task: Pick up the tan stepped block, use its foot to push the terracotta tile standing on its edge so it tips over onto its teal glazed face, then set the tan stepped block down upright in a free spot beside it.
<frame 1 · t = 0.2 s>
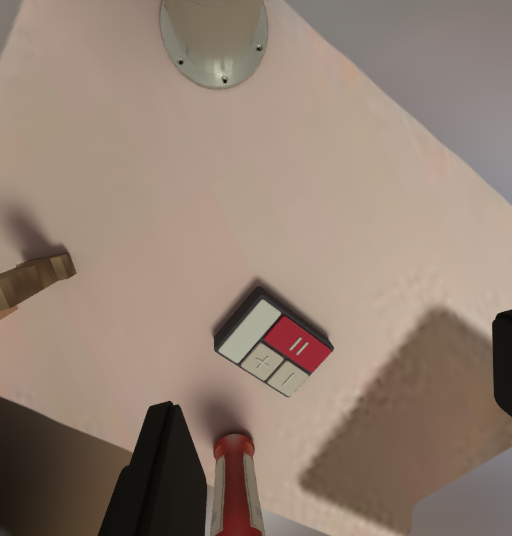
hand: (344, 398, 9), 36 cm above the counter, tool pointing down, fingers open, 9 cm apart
liquor: (233, 443, 54), on the counter
calculator: (272, 337, 50), on the counter
tan stepped block: (52, 267, 43), on the counter
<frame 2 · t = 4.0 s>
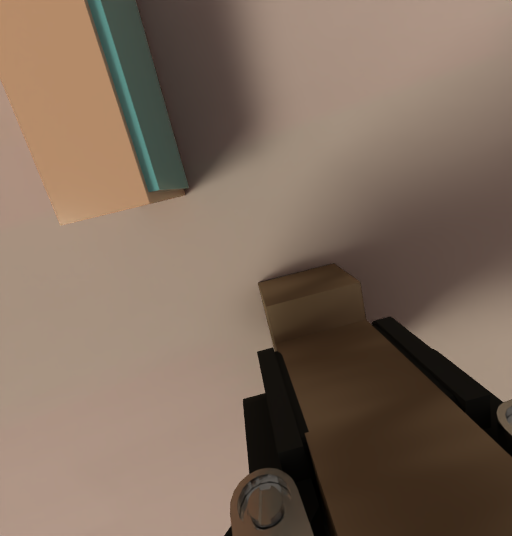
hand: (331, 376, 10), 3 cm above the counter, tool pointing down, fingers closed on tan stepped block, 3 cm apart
tile: (129, 90, 10), on the counter
tan stepped block: (309, 337, 13), on the counter, touching gripper
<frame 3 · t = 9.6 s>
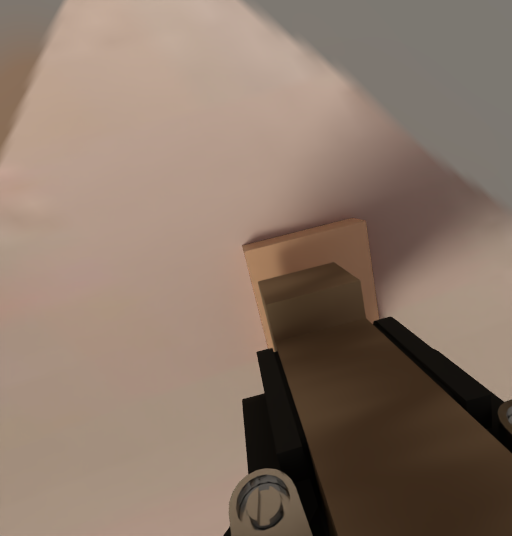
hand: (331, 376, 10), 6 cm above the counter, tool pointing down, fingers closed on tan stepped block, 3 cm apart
tile: (260, 316, 15), point 1 cm above the counter, tilted 90°
tan stepped block: (309, 336, 13), point 3 cm above the counter, touching gripper
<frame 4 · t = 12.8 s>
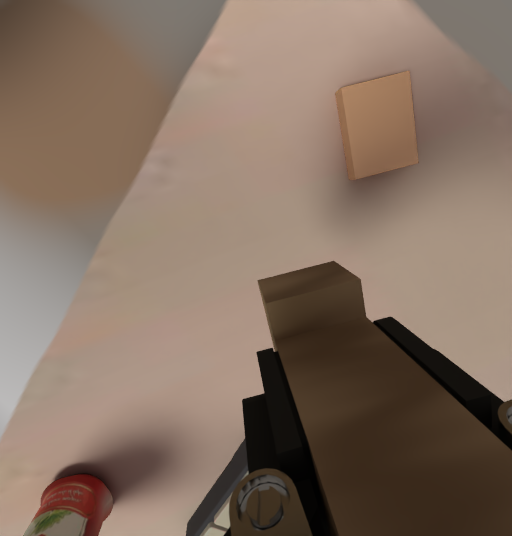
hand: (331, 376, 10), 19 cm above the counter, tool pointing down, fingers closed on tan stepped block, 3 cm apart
liquor: (83, 489, 33), on the counter
calculator: (260, 488, 36), on the counter
tile: (344, 136, 26), point 1 cm above the counter, tilted 90°
tan stepped block: (309, 335, 13), point 16 cm above the counter, touching gripper
when the fingers open (4 cm above the counter, at t = 15.6 s): tan stepped block drops 1 cm, on the counter.
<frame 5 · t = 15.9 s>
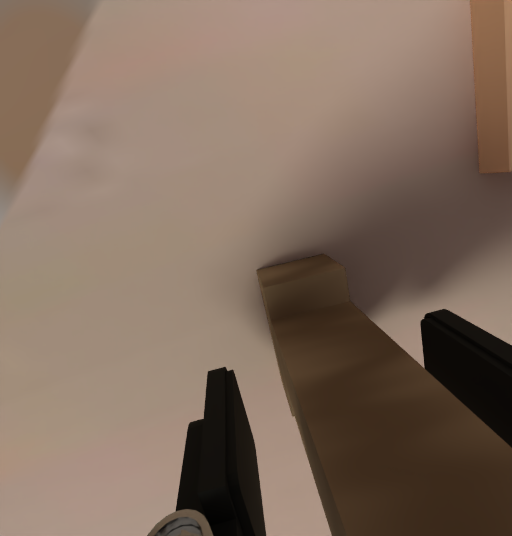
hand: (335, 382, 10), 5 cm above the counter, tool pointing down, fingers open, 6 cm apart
tile: (487, 78, 12), point 1 cm above the counter, tilted 90°
tan stepped block: (301, 320, 14), on the counter
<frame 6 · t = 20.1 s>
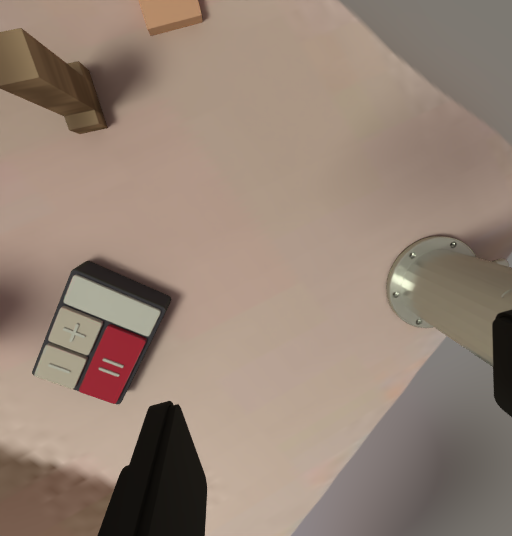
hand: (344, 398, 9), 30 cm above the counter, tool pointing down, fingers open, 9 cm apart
calculator: (108, 328, 40), on the counter
tan stepped block: (84, 102, 33), on the counter
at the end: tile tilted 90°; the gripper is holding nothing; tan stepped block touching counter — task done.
